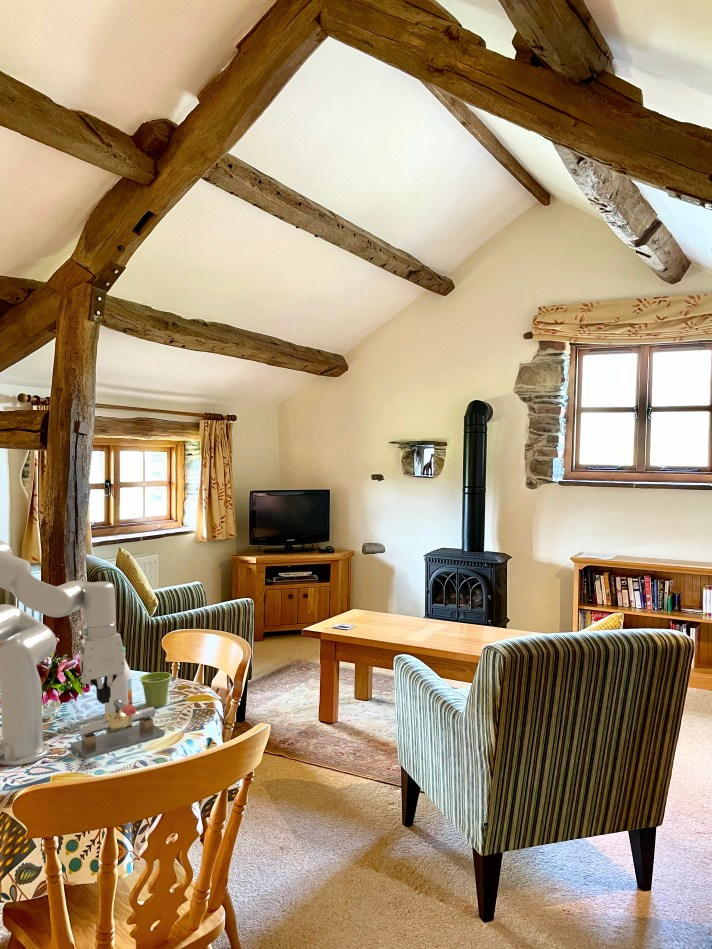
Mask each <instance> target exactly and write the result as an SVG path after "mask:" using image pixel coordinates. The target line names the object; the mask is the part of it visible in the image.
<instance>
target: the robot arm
mask: <svg viewBox="0 0 712 949" xmlns="http://www.w3.org/2000/svg"><path fill="white" fill-rule="evenodd" d="M32 569H33V568H32V565H31V563H30V561H28V560H26V559H23V558H21V557H18V556H16V555H13V550H12V547H10V546H9V544H8V543H6V542H5V541H2V540H0V588H1V589H3V590H6V591H7V592H10V593H12V595H13V597H15V598H16V600H17V601H19V602H20V603H21V604H22V605H23V606H24V607H26V608H28V609H29V610H33V611H35V612H38V613H40V614H42V615H45V616H48V617H52V618H62V617H66V616H68V615H70V614H72V613H74V612H77V611H79V610H82V609H83V614H84V615H83V616H84V626H83V629H80V630H79V635H80V636H83V638H82V642H81V649H80V660H79V662H80V674H81V678H80V682H81V683H82V684H84V685H93V686H94V687H95V689H96V700H97V701H98V702H99V703H101V704H102V705H105V703H109V698H110V697H111V692H110V686H112V683H113V681H114V680H115V679H116V678H117V677H119V676H121V675H123V674H124V670H125V660H126V657H125V658H124V651H123V647H124V646H123V640H122V637H121V634H120V633H118V632H117V616H116V615H117V613H116V612H117V610H116V593H115V591H116V590H115V585H114V584H113V582H109V581H95V582H91V581H85V580H84V581H83V580H71V581H68V582H65V583H63V584H60V585H57V586H56V585H52V584H49V583H46V582H44V581H42V580H40V579H38V578H37V577H35V576H33V574H32ZM0 643H1V644H0V710H1V711H0V712H1V713H0V715H1V717H0V718H1V739H0V765H4V766H20V765H25V764H31V763H33V762H37V761H39V760H41V759H43V758H45V757H46V756H47V755H48V754H49V753H50V750H51V749H50V747H51V746H50V745H49V744H48V743H47V742H45V741H44V740H43V739H44V733H43V730H44V729H43V703H42V702H43V699H42V698H43V697H42V696H43V695H42V693H43V692H42V680H41V677H40V674H39V671H38V668H37V665H38V664H40V663H41V662H44V661H45V660H46V659H47V658H49V657H50V656H51V655H53V653H54V651H56V647H57V638H56V634H55V633H54V632H53V631H52V630H51V629H50V628H49V627H48V626H47V625H45V624H44V623H42V622H41V621H40V620H38V619H36V618H35V617H33V616H32V615H30V614H29V613H28V612H26V611H24V610H23V609H21V608H20V607H17V606H15V605H12V604H7V603H5V604H0ZM102 678H103V679H102Z"/></svg>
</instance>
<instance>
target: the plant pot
mask: <svg viewBox="0 0 712 949" xmlns="http://www.w3.org/2000/svg"><path fill="white" fill-rule="evenodd" d="M171 678H172V674H171V673H170V672H167V671H165V672H163V671H155V672H149V673H147V674H143V675H142V676H140V678H139V681H140V682H141V685H142V687H143V688H142V689H143V692H144V693H143V694H144V699H145V705H146V706H147V708H148V707H154V708H155V707H157V708H161V707H163V705H164V706H166V704H167V703H168V695H169V694H168V693H169V685H170V683H171ZM160 706H161V707H160Z"/></svg>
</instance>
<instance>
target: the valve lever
mask: <svg viewBox="0 0 712 949" xmlns="http://www.w3.org/2000/svg"><path fill="white" fill-rule="evenodd" d="M113 705H114V706H118V707H119V708H121V709H122V710H123V714H125V715H126V716H131V715H134V714H136V711H137V710H136V709H137V708H136V707H135V706H134V705H133V704H132V705H131V704H129V705H126V704H125V703H123V702H122V700H120V699H118V700H114V701H113Z"/></svg>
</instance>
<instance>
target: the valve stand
mask: <svg viewBox="0 0 712 949" xmlns="http://www.w3.org/2000/svg"><path fill="white" fill-rule="evenodd" d="M155 710H156V709H155V707H148V706H147V707H145V708H142V709H138V710H136V714H134V715H131V716H126V715H125V714H123V710H120V708H119V707H118V706H115V712H111V713H108V714H105V713H104V715H103V719H99V720H96V721H92V722H88V723H84V724H80V725H78V734H79V736H80V737H81V739H80V740H78V741H77V740H76V741H73V742H70V748H71V749H72V750H74V751H75V752H76V753H77V754H78V755H79V756H80V757H82V758H83V759H84V760H86V759H89V758H92V757H97V756H99V755H102V754H107V753H110V752H113V750H114V751H115V750H116V751H117V750H121V749H124V748H127V747H129V746H130V747H131V746H132V745H133V744H134V745H137V744H140V742H141V743H143V742H144V743H145V742H147V741H150V740H154V739H157V738H161V737H164V736H165V734H166V732H165V731H164V730H163V729H161V728H159V727H158V726H157V725H155V724H154V719H153V718H154V717H155V716H156V711H155ZM136 722H139V723H138V724H134V725H133V723H136ZM103 731H105V733H102V734H98V735H96V733H99V732H103ZM134 745H133V746H134ZM126 746H127V747H126ZM123 747H124V748H123Z"/></svg>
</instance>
